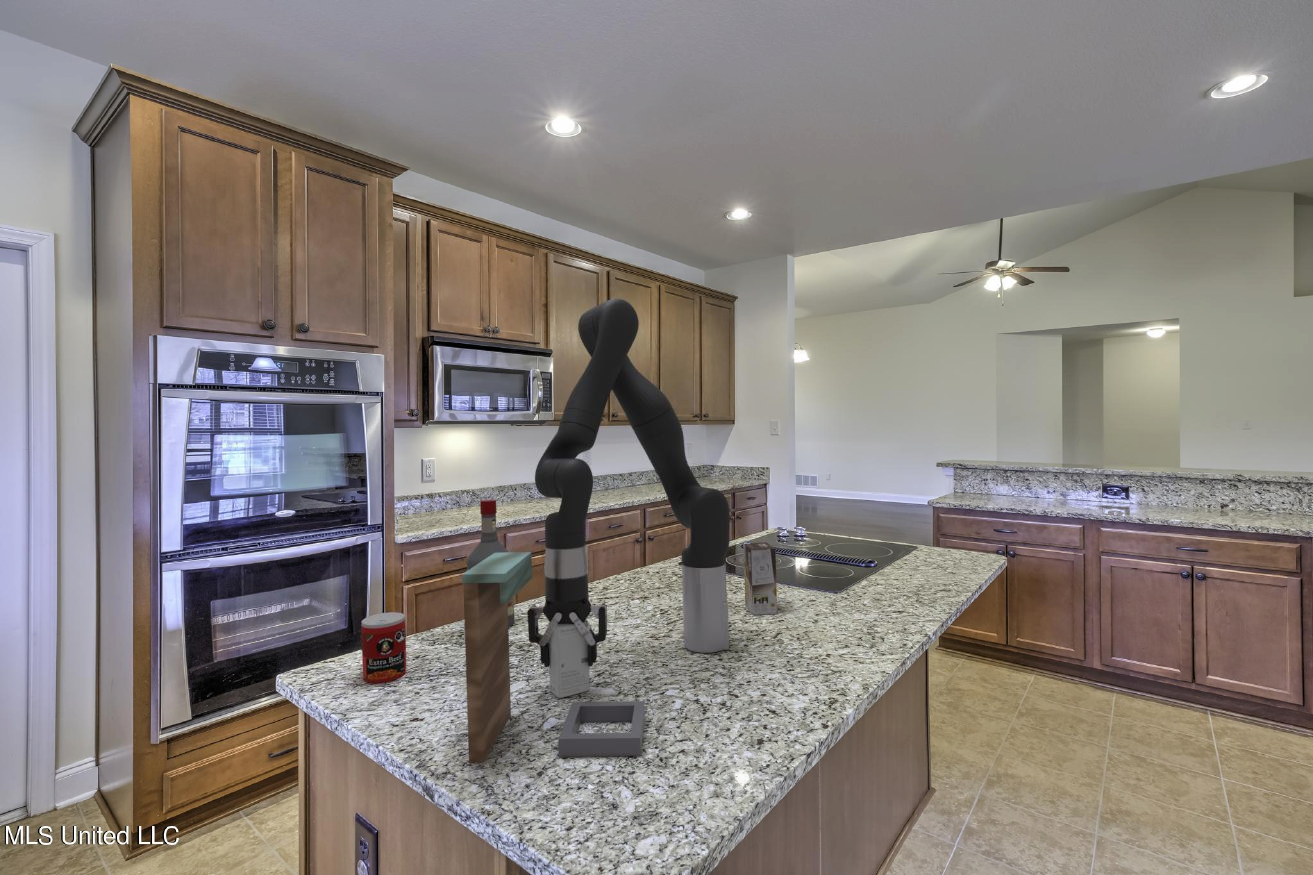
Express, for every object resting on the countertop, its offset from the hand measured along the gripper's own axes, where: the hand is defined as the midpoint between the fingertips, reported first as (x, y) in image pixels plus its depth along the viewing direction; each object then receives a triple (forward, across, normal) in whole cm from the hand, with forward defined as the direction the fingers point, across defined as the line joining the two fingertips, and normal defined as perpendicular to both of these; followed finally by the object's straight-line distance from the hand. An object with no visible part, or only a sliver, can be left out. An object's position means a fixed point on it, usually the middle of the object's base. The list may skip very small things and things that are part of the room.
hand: (569, 664), depth 105 cm
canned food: (+5, +37, -8) cm, 38 cm away
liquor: (+5, +25, -36) cm, 44 cm away
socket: (+4, -8, +16) cm, 18 cm away
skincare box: (+5, 0, 0) cm, 5 cm away
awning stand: (+5, +7, +16) cm, 18 cm away
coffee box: (+5, -40, -46) cm, 61 cm away
